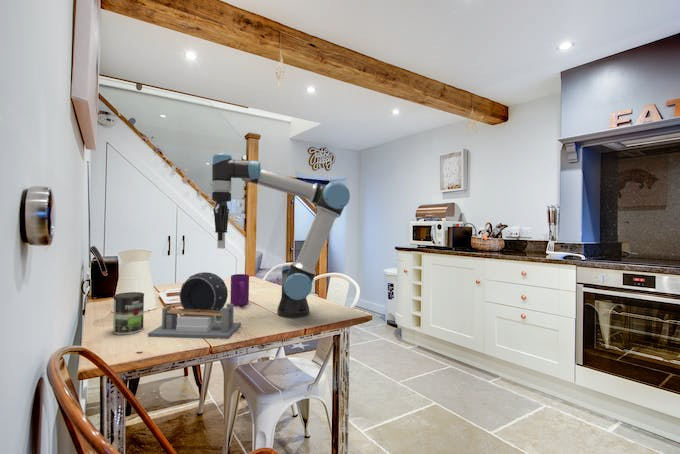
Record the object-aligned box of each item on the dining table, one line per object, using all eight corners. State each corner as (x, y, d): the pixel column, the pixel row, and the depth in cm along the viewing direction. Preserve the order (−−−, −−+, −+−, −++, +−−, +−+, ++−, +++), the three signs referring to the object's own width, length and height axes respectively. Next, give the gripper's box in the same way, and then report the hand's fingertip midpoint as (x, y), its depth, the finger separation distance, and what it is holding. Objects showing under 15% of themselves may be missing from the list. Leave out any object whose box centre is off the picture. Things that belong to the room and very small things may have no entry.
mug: (247, 301, 188) (247, 273, 188) (252, 308, 174) (252, 278, 174) (229, 302, 185) (229, 274, 184) (233, 310, 170) (233, 279, 170)
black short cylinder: (217, 322, 150) (218, 275, 150) (176, 318, 154) (176, 273, 154) (230, 315, 161) (230, 272, 160) (191, 312, 165) (191, 269, 164)
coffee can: (149, 329, 139) (149, 294, 138) (121, 336, 130) (121, 298, 129) (135, 324, 144) (135, 290, 144) (107, 331, 135) (108, 295, 135)
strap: (231, 314, 140) (231, 309, 140) (228, 317, 136) (228, 312, 136) (172, 311, 141) (172, 306, 140) (167, 314, 137) (167, 309, 136)
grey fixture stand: (240, 325, 146) (241, 301, 146) (228, 338, 130) (228, 311, 130) (169, 323, 147) (169, 299, 147) (147, 336, 131) (148, 309, 131)
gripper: (218, 192, 152) (217, 246, 153) (206, 190, 139) (206, 249, 140) (235, 193, 152) (234, 247, 153) (225, 190, 139) (225, 249, 140)
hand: (221, 248), depth 147 cm, fingers closed
